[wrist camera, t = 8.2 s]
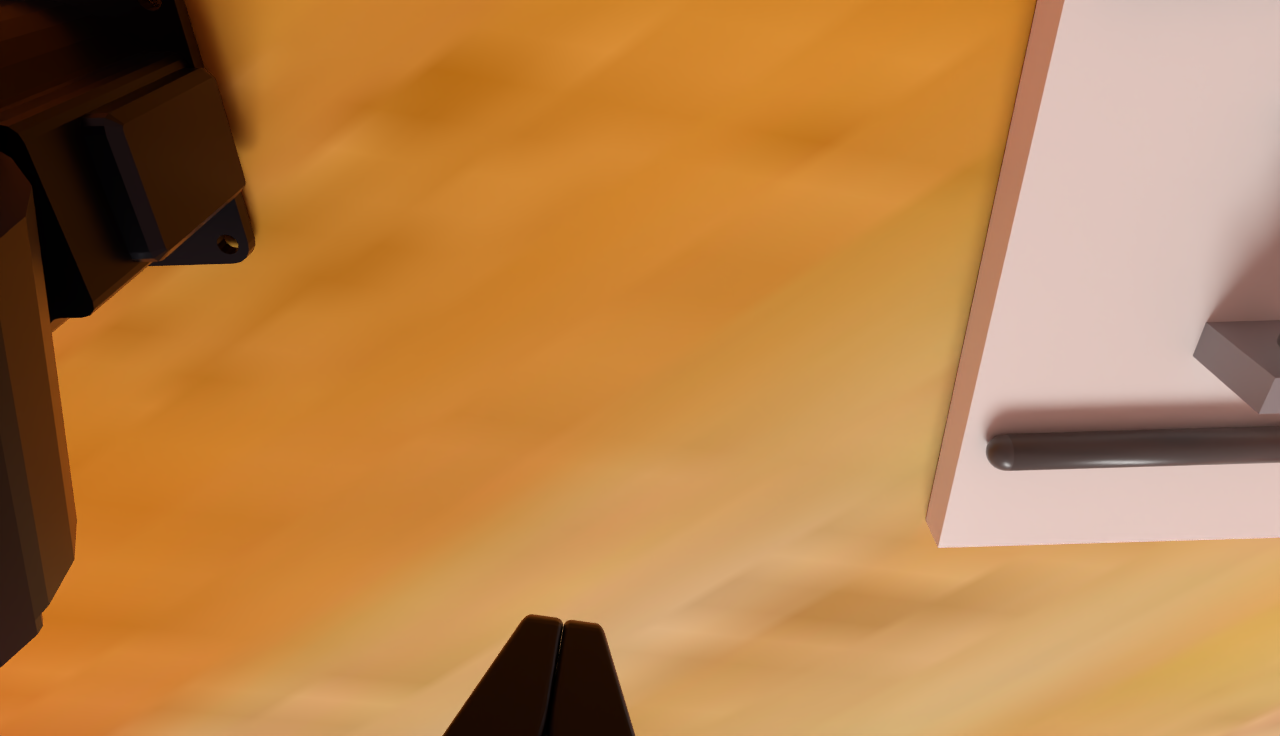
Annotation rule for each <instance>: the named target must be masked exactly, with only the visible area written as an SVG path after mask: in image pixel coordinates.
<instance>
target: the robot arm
mask: <svg viewBox="0 0 1280 736" xmlns="http://www.w3.org/2000/svg"><path fill="white" fill-rule="evenodd" d="M245 183H246V182H245V178H244V174H243V171H242V168H241V164H240V161H239V157H238V154H237V150H236V147H235V144H234V140H233V137H232V133H231V130H230V127H229V123H228V120H227V116H226V113H225V109H224V106H223V103H222V99H221V96H220V92H219V89H218V86H217V82H216V79H215V78H214V77H213V76H212V75H211V74H210V73H209V72H208V71H207V70H206V69H204V66H203V62H202V59H201V55H200V52H199V49H198V45H197V42H196V39H195V35H194V32H193V29H192V25H191V22H190V19H189V15H188V12H187V8H186V5H185V2H184V0H162V5H161V7H156V6H155V5H153V4H152V3H151V2H150V1H149V0H0V667H1V666H3V665H4V664H5V663H6V662H7V661H8V660H9V659H11V658H12V657H13V656H14V655H15V654H16V653H17V652H18V651H19V650H21V649H22V648H23V647H24V646H25V645H26V644H27V643H28V642H29V641H31V640H32V639H33V638H34V637H35V636H36V635H37V634H38V633H39V631H40V630H41V628H42V626H43V618H42V612H43V611H44V610H45V609H46V608H47V606H48V605H49V604H50V602H51V600H52V599H53V597H54V595H55V593H56V591H57V590H58V588H59V586H60V584H61V582H62V581H63V579H64V577H65V575H66V573H67V572H68V570H69V568H70V566H71V565H72V563H73V561H74V556H75V540H76V524H77V518H76V511H75V503H74V496H73V488H72V481H71V473H70V466H69V459H68V451H67V444H66V436H65V429H64V421H63V414H62V406H61V399H60V392H59V384H58V377H57V369H56V362H55V354H54V347H53V340H52V332H53V331H54V330H56V329H57V328H58V327H59V326H60V325H62V324H63V323H64V322H65V321H67V320H68V319H69V318H82V317H86V316H89V315H91V314H92V313H93V312H95V311H96V310H97V309H98V308H99V307H100V306H102V305H103V304H104V303H105V302H106V301H107V300H109V299H110V298H111V297H112V296H113V295H114V294H116V293H117V292H118V291H119V290H120V289H121V288H123V287H124V286H125V285H126V284H127V283H128V282H130V281H131V280H132V279H133V278H134V277H136V276H137V275H138V274H139V273H140V272H141V271H143V270H144V269H145V268H146V267H147V266H167V265H200V264H233V263H238V262H241V261H243V260H244V259H245V258H246V257H247V256H248V255H249V254H250V253H251V252H252V251H253V249H254V247H255V237H254V233H253V230H252V227H251V223H250V220H249V217H248V213H247V210H246V207H245V203H244V200H243V196H242V193H241V190H242V189H243V188H244V186H245ZM224 235H229V236H231V237H233V238H234V239H236V241H237V243H238V247H239V248H236V247H232V246H230V245H229V244H227V243H226V241H225V239H224ZM562 630H563V632H562ZM561 636H562V639H561ZM560 643H561V645H560ZM559 650H560V651H559ZM558 656H559V657H558ZM557 663H558V664H557ZM443 736H635V733H634V730H633V726H632V723H631V720H630V716H629V713H628V710H627V706H626V703H625V700H624V696H623V693H622V690H621V686H620V683H619V680H618V676H617V673H616V670H615V666H614V663H613V659H612V656H611V653H610V649H609V646H608V643H607V639H606V636H605V633H604V630H603V629H602V627H601V626H600V625H599V624H596V623H590V622H583V621H576V620H569V621H566V623H565V624H564V626H563V623H562V621H561V620H560V619H558V618H555V617H548V616H540V615H533V614H530V615H528V616H526V617H525V618H524V619H523V620H522V621H521V623H520V624H519V625H518V627H517V628H516V630H515V631H514V633H513V634H512V636H511V637H510V638H509V640H508V641H507V643H506V644H505V646H504V647H503V649H502V650H501V652H500V653H499V654H498V656H497V657H496V659H495V660H494V662H493V663H492V665H491V666H490V668H489V669H488V670H487V672H486V673H485V675H484V676H483V678H482V679H481V681H480V682H479V684H478V685H477V686H476V688H475V689H474V691H473V692H472V694H471V695H470V697H469V698H468V699H467V701H466V702H465V704H464V705H463V707H462V708H461V710H460V711H459V713H458V714H457V715H456V717H455V718H454V720H453V721H452V723H451V724H450V726H449V727H448V729H447V730H446V731H445V733H444V734H443Z"/></svg>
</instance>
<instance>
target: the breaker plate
mask: <svg viewBox="0 0 1280 736" xmlns="http://www.w3.org/2000/svg"><path fill="white" fill-rule="evenodd" d="M1279 334H1280V0H1037V5H1036V9H1035V14H1034V19H1033V23H1032V28H1031V33H1030V37H1029V42H1028V46H1027V51H1026V56H1025V60H1024V65H1023V70H1022V74H1021V79H1020V84H1019V88H1018V93H1017V98H1016V102H1015V107H1014V112H1013V116H1012V121H1011V126H1010V130H1009V135H1008V140H1007V144H1006V149H1005V153H1004V158H1003V163H1002V167H1001V172H1000V177H999V181H998V186H997V191H996V195H995V200H994V205H993V209H992V214H991V219H990V223H989V228H988V233H987V237H986V242H985V246H984V251H983V256H982V260H981V265H980V270H979V274H978V279H977V284H976V288H975V293H974V298H973V302H972V307H971V312H970V316H969V321H968V326H967V330H966V335H965V340H964V344H963V349H962V353H961V358H960V363H959V367H958V372H957V377H956V381H955V386H954V391H953V395H952V400H951V405H950V409H949V414H948V419H947V423H946V428H945V433H944V437H943V442H942V446H941V451H940V456H939V460H938V465H937V470H936V474H935V479H934V484H933V488H932V493H931V498H930V502H929V507H928V512H927V516H926V522H927V525H928V527H929V529H930V531H931V533H932V536H933V538H934V540H935V542H936V544H937V547H938V548H946V547H980V546H1013V545H1047V544H1080V543H1114V542H1147V541H1181V540H1214V539H1248V538H1280V347H1279V345H1278V344H1277V338H1278V336H1279Z"/></svg>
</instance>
